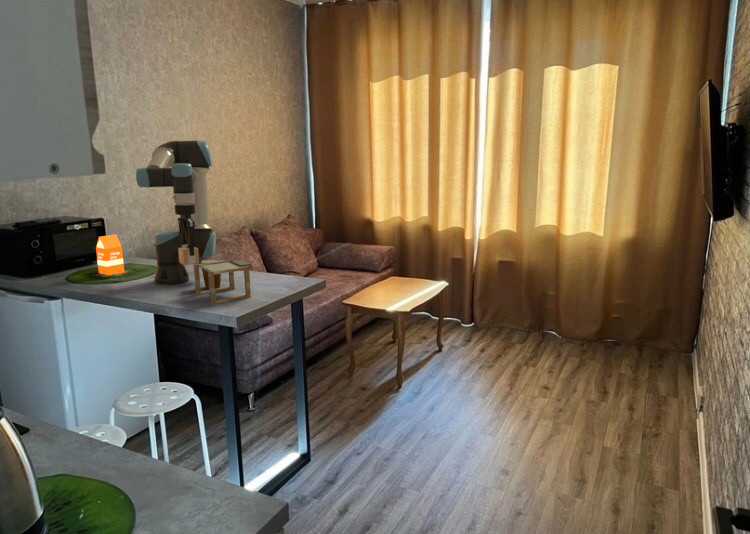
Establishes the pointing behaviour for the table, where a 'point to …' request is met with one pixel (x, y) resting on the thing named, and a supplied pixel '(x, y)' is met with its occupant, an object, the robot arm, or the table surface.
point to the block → (184, 256)
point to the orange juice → (109, 255)
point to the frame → (213, 290)
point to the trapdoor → (227, 265)
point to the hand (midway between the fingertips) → (189, 261)
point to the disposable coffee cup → (216, 276)
